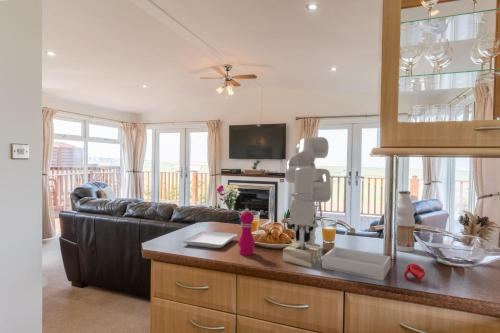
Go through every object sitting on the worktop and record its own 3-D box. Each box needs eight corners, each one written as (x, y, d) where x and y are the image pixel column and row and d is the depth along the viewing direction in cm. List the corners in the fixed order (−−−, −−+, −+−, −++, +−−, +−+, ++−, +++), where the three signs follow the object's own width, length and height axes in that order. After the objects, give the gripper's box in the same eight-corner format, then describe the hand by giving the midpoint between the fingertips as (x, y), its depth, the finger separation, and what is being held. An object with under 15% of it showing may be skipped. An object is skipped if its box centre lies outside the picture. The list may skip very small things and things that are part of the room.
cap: (423, 277, 101) (429, 265, 104) (405, 267, 104) (411, 256, 107) (417, 290, 105) (423, 277, 109) (400, 280, 109) (406, 269, 112)
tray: (334, 257, 131) (335, 246, 131) (390, 267, 119) (390, 256, 119) (322, 267, 117) (322, 256, 117) (383, 280, 105) (383, 267, 105)
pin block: (295, 254, 135) (295, 242, 134) (321, 259, 128) (321, 247, 128) (282, 261, 124) (283, 249, 124) (310, 267, 118) (310, 254, 118)
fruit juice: (396, 251, 141) (398, 191, 140) (389, 246, 150) (390, 189, 150) (417, 252, 140) (419, 192, 140) (409, 247, 149) (410, 190, 149)
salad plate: (180, 247, 144) (181, 239, 144) (201, 236, 164) (201, 230, 164) (222, 251, 137) (222, 244, 137) (238, 240, 158) (238, 233, 158)
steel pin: (299, 255, 130) (300, 219, 130) (309, 257, 127) (310, 221, 127) (294, 258, 126) (295, 221, 126) (305, 260, 123) (306, 223, 123)
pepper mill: (252, 256, 130) (253, 210, 130) (236, 255, 132) (237, 209, 131) (255, 251, 137) (256, 207, 137) (240, 250, 139) (241, 206, 138)
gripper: (281, 196, 127) (280, 239, 128) (319, 199, 118) (318, 246, 119) (289, 194, 134) (288, 236, 134) (325, 197, 125) (324, 242, 125)
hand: (302, 240), depth 126 cm, fingers closed on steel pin, 3 cm apart
